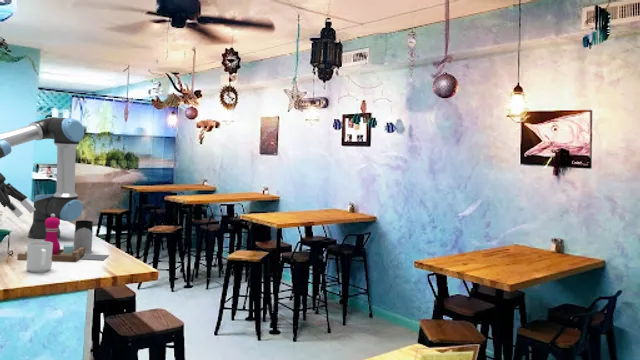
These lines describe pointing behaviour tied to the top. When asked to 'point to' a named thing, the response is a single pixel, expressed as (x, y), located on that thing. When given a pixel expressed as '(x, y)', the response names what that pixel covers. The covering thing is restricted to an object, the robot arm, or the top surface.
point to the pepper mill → (52, 232)
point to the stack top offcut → (68, 248)
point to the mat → (94, 257)
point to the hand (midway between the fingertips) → (27, 213)
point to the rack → (61, 256)
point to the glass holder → (83, 235)
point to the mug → (39, 256)
